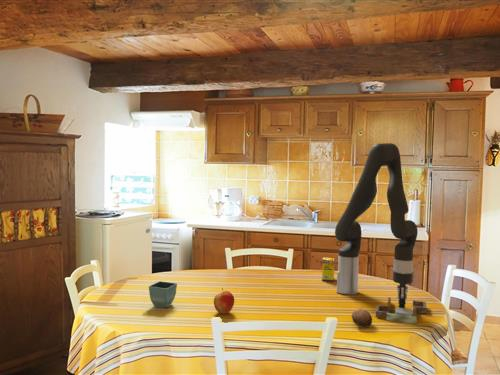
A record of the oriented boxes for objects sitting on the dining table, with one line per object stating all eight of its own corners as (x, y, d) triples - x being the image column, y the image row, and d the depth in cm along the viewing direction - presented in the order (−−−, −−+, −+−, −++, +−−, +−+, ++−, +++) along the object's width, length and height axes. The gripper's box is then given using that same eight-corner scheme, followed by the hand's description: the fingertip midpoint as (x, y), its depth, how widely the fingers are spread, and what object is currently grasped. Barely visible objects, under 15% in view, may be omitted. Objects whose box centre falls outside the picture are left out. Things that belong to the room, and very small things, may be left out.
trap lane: (375, 318, 173) (375, 312, 173) (378, 302, 194) (378, 296, 194) (428, 325, 167) (428, 318, 167) (425, 307, 188) (425, 301, 188)
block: (395, 321, 172) (395, 312, 172) (395, 315, 178) (395, 307, 178) (411, 322, 170) (412, 313, 170) (411, 317, 176) (411, 308, 176)
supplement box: (333, 281, 226) (334, 260, 225) (321, 281, 227) (322, 259, 226) (333, 278, 231) (334, 258, 231) (322, 278, 233) (322, 257, 232)
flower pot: (177, 303, 188) (177, 283, 188) (167, 310, 180) (167, 288, 179) (159, 301, 191) (159, 280, 191) (148, 307, 183) (148, 286, 182)
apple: (226, 318, 172) (226, 292, 172) (209, 314, 177) (209, 289, 176) (238, 312, 179) (238, 287, 178) (221, 308, 183) (221, 284, 183)
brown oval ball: (346, 312, 171) (354, 302, 168) (365, 319, 172) (373, 309, 169) (348, 328, 164) (356, 318, 161) (367, 336, 165) (376, 326, 162)
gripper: (393, 265, 185) (392, 306, 186) (392, 273, 173) (391, 317, 174) (412, 267, 183) (411, 308, 184) (413, 275, 170) (411, 319, 172)
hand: (401, 312), depth 179 cm, fingers closed
